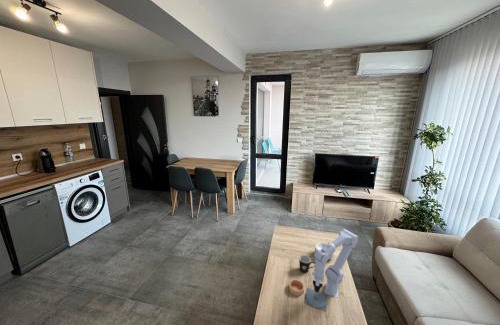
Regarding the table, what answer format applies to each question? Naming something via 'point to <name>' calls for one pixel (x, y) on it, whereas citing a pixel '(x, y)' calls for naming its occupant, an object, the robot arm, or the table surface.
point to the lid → (316, 299)
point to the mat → (312, 306)
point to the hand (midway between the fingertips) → (317, 286)
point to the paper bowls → (320, 246)
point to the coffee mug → (305, 263)
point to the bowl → (296, 287)
